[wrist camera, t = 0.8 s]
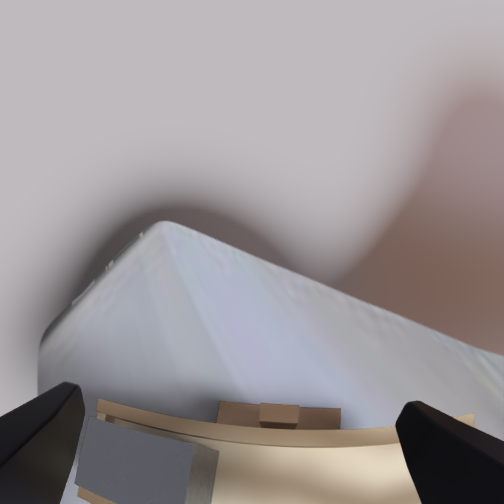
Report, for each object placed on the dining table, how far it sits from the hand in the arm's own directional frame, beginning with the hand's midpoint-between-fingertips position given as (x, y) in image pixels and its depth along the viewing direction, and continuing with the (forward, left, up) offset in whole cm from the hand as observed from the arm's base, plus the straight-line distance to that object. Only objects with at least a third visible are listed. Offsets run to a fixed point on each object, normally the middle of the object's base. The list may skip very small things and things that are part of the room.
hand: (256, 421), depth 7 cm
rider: (-3, +6, -13) cm, 15 cm away
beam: (-3, 0, -13) cm, 13 cm away
